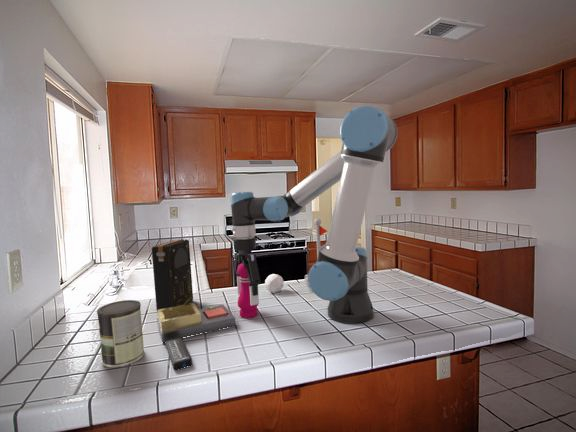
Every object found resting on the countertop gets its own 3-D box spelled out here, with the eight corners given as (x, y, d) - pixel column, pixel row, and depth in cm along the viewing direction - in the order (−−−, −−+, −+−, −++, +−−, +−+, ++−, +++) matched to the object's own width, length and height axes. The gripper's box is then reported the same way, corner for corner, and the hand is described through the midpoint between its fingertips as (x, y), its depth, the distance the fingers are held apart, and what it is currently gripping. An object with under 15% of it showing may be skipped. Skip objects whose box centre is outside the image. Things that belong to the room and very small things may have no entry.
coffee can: (94, 369, 83) (89, 315, 82) (112, 350, 94) (107, 301, 92) (136, 366, 84) (131, 312, 83) (150, 347, 94) (146, 298, 93)
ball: (279, 299, 138) (284, 287, 134) (261, 293, 138) (265, 280, 133) (282, 285, 144) (287, 273, 140) (265, 279, 144) (269, 267, 140)
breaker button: (227, 321, 109) (226, 312, 108) (209, 325, 106) (208, 316, 106) (222, 315, 114) (221, 307, 114) (204, 319, 111) (204, 310, 111)
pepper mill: (242, 320, 110) (239, 261, 109) (235, 313, 117) (232, 257, 115) (262, 315, 114) (259, 258, 112) (254, 309, 120) (251, 254, 118)
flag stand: (298, 289, 141) (295, 219, 139) (319, 282, 150) (316, 216, 148) (321, 295, 132) (318, 220, 129) (342, 287, 141) (339, 217, 138)
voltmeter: (175, 315, 118) (170, 245, 116) (153, 314, 120) (147, 246, 118) (196, 300, 133) (191, 238, 131) (176, 299, 135) (171, 238, 133)
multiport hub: (182, 344, 96) (181, 336, 96) (192, 367, 83) (191, 358, 83) (166, 348, 94) (165, 340, 94) (174, 372, 81) (173, 363, 81)
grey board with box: (235, 326, 106) (234, 308, 105) (162, 343, 96) (160, 323, 96) (223, 312, 118) (222, 296, 118) (157, 326, 109) (156, 308, 108)
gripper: (223, 234, 122) (227, 291, 124) (246, 243, 100) (249, 312, 102) (243, 232, 126) (246, 287, 127) (269, 240, 104) (272, 307, 105)
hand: (247, 298), depth 115 cm, fingers open, 12 cm apart
